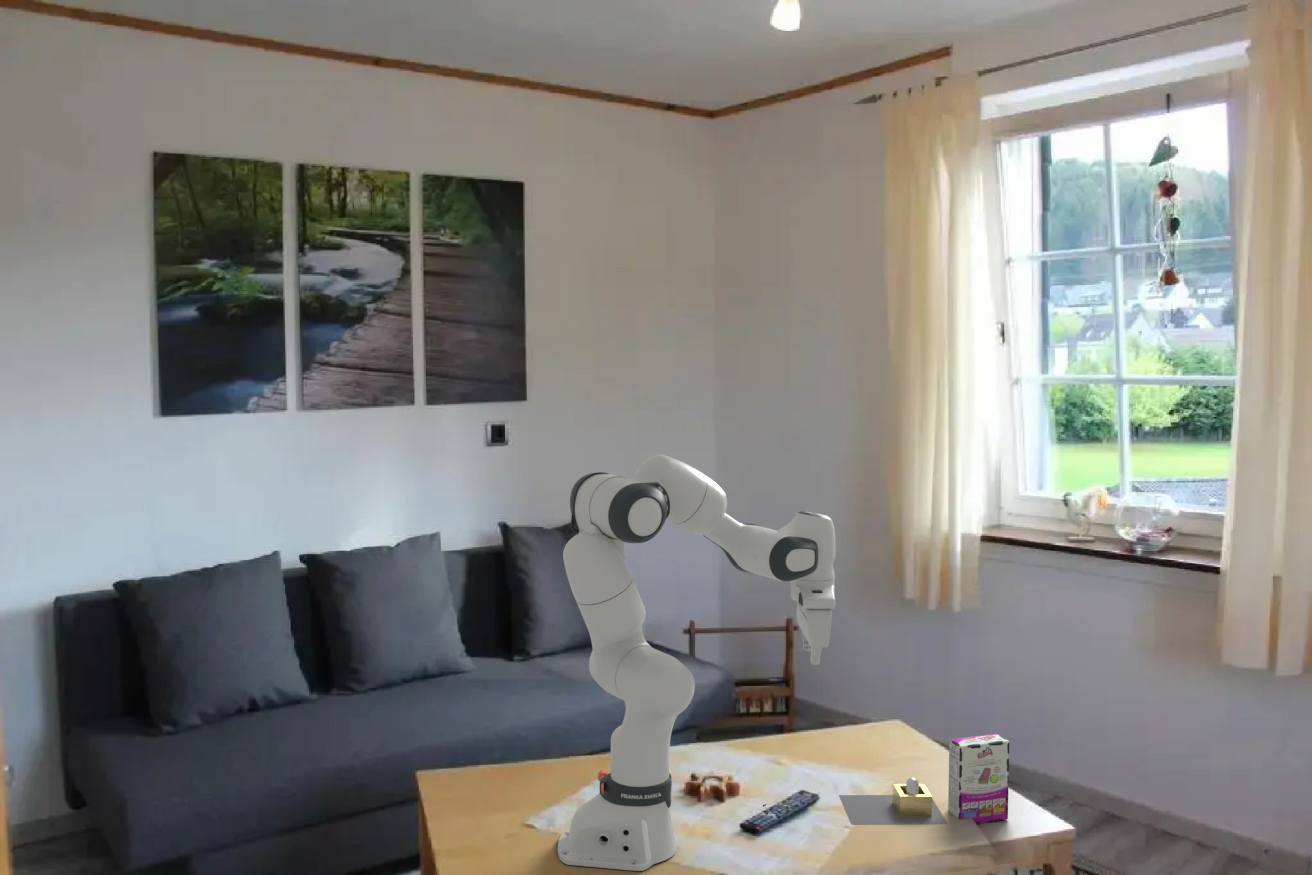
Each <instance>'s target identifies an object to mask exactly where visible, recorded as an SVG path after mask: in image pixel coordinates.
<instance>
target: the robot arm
mask: <svg viewBox="0 0 1312 875" xmlns="http://www.w3.org/2000/svg"><path fill="white" fill-rule="evenodd" d="M569 497H570V498H569V509H570V513H571V515H570V516H571V517H570V525H571V527H572V529H573V531H574V532H575V533H576V534H575V535H574V536H573V537H571V539H569V540H568V541H567V543H566V544H565V545H564V548H563V550H562V551H563V552H562V559H563V563H564V564H563V565H564V569H565V573H566V577H567V580H568V583H569V586H570V590H571V592H572V595H573V598H574V599H575V602H576V604H577V606H578V609H579V611H580V614H581V616H582V618H583V621H584V623H585V626H586V628H587V631H588V633H589V634H588V635H589V637H590V643H591V646H592V651H591V653H590V656H589V660H588V669H589V673H590V676H591V677H592V679H593V680H594V681H595V682H596V683H597V684H598V685H599V686H600V687H601V688H602V689H603V690H604V691H605V692H606V693H608V694H609V695H612V696H614V697H616V698H618V699H620V700H622V701H624V706H625V712H624V717H623V721H622V723H621V725H619V726H618V727H616V728H615V729H614V730H613V732H612V734H611V736H610V771H609V772H608V771H607V770H606V769H600V770H599V771H598V772H597V780H598V782H599V793H598V794H597V795H595V796H594V797H592V798H591V799H589V800H588V801H586V802H585V803H583V804H581V806H579V807H578V808H577V809H576V810H575V812H574V814H573V817H572V819H571V823H570V826H569V828H567V829H566V830H565V831H564V832H562V833H561V835H560V837H559V839H558V844H557V856H558V858H559V860H560V861H561V862H562V863H564V864H565V865H569V866H576V867H579V866H580V867H591V868H601V869H612V870H623V871H635V872H636V871H637V872H642V871H645V870H648V869H649V868H650V867H652V866H653V865H655V864H658V863H661V862H664V861H666V860H668V859H670V858H671V857H673V856H674V855H675V854H676V853H677V850H678V844H677V840H676V837H675V833H674V828H673V827H674V826H673V820H672V814H671V812H672V811H671V805H672V801H673V781H672V775H671V773H670V750H671V747H670V746H671V737H672V732H673V728H674V724H675V722H676V720H677V717H678V716H679V715H680V714H682V713H683V712H684V711H685V710H687V708H688V706H689V705H690V704H691V702H692V701H693V698H694V695H695V688H696V684H695V677H694V676H693V673H692V672H691V671H690V669H689V668H687V667H686V666H685V664H683V663H682V662H681V661H680V660H679V659H678V658H676V656H675V657H674V656H672V655H671V654H668V653H666V652H664V651H660V650H659V649H656V648H654V647H652V646H651V644H649V643H648V641H647V640H646V639H645V636H644V634H643V633H644V632H643V625H644V623H645V620H646V616H647V611H646V608H645V605H644V603H643V600H642V597H641V595H640V593H639V590H638V588H637V586H636V583H635V580H634V578H633V575H632V573H631V570H630V569H629V566H628V564H627V562H626V558H625V551H624V549H625V548H624V547H625V545H624V544H625V543H627V544H643V543H646V542H649V541H651V540H653V539H654V538H655V537H656V536H657V535H658V534H659V533H660V531H661V530H662V528H663V526H664V525H665V524H666V523H665V522H666V521H667V522H669V523H671V524H672V525H674V526H676V527H677V528H679V529H682V530H683V531H687V532H689V533H692V534H694V535H698V536H701V537H702V536H703V537H704V538H706V539H707V540H709V541H710V542H712V543H713V544H715V545H716V546H717V547H719V548H720V549H721V550H722V551H723V553H724V554H725V556H726V557H727V559H728V560H729V562H730V563H731V564H732V566H733V567H734V568H735V569H736V570H738V571H741V572H743V573H750V574H753V575H754V574H755V575H757V576H762V577H765V578H768V579H772V580H774V581H778V582H790V599H791V600H792V601H795V602H796V623H797V625H798V626H799V628H800V630H801V635H802V643H803V644H802V646H803V647H802V650H804V651H805V652H808V653H809V652H810V655H809V657H810V659H809V660H810V663H811V665H812V666H819V665H821V655H822V652H823V651H822V650H823V648H828V647H829V644H830V641H831V640H830V639H831V632H832V630H831V629H832V619H833V612H832V611H833V609H835V608H836V597H835V592H836V591H835V590H836V588H835V586H836V585H835V584H836V581H835V580H836V575H835V569H834V561H835V559H836V547H837V546H836V531H835V530H836V529H835V525H834V522H833V519H832V518H831V517H830V516H829V515H826V514H823V513H818V512H812V511H804V510H802V511H797V512H796V513H795V515H794V517H793V518H792V519H791V520H790V521H789V522H788V523H787V524H786V525H784V526H783V527H781V528H778V529H777V530H776V529H774V528H773V529H772V528H768V527H764V526H762V525H759V524H756V523H750V522H739V521H738V520H736V519H735V518H734V517H732V516H730V515H729V514H727V513H726V512H727V507H728V498H727V494H726V492H725V491H724V489H723V488H722V487H721V486H720V485H719V484H718V483H717V482H716V481H714V480H713V479H712V478H711V477H709V476H708V475H706V474H705V473H703V472H702V471H700V470H699V469H697V468H695V467H693V466H692V465H690V464H688V463H686V462H684V461H682V460H678V459H677V458H673V457H671V456H668V455H666V454H655V455H652V456H648V458H646V459H645V460H644V461H643V462H642V463H641V464H640V465H639V467H638V468H637V470H636V472H635V475H633V476H632V477H630V478H629V477H626V476H622V475H617V474H611V473H608V472H603V471H602V472H598V471H597V472H591V473H588V474H585V475H583V476H582V477H579V479H578V480H577V481H576V482H575V483H574V485H573V486H572V488H571V492H570V496H569Z"/></svg>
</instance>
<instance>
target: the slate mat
mask: <svg viewBox="0 0 1312 875" xmlns="http://www.w3.org/2000/svg"><path fill="white" fill-rule="evenodd" d="M838 796H839V800H840V801H841V803H842V805H843V808H844V810H845V812H846V814H847V817H848V819H849V822H850V823H851V825H949V823H948V821H947V820H946V818H945V817H944V815H943V814H942V812H941V810H940V809H939V807H938V805H937V804H936V802H935V801H934V799H933V798H932V816H899V814H898V812H897V810H896V808H895V806H894V805H893V803H892V802H893V794H839V795H838Z"/></svg>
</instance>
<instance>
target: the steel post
mask: <svg viewBox="0 0 1312 875" xmlns="http://www.w3.org/2000/svg"><path fill="white" fill-rule="evenodd" d="M905 784H906V794H918V788H919V784H920V783H919V780H918V779H917V778H915V777H909V778H907V779H906V782H905Z"/></svg>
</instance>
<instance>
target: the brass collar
mask: <svg viewBox="0 0 1312 875" xmlns="http://www.w3.org/2000/svg"><path fill="white" fill-rule="evenodd" d="M892 795H893V802H892V803H893V805H894V806H895V808H896V810H897V812H898V814H899V816H932V799H933V795H932V794H931V791H929V789H928V787H927V786H926V784H925V783H919V788H918V794H906V783H893V784H892Z"/></svg>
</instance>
